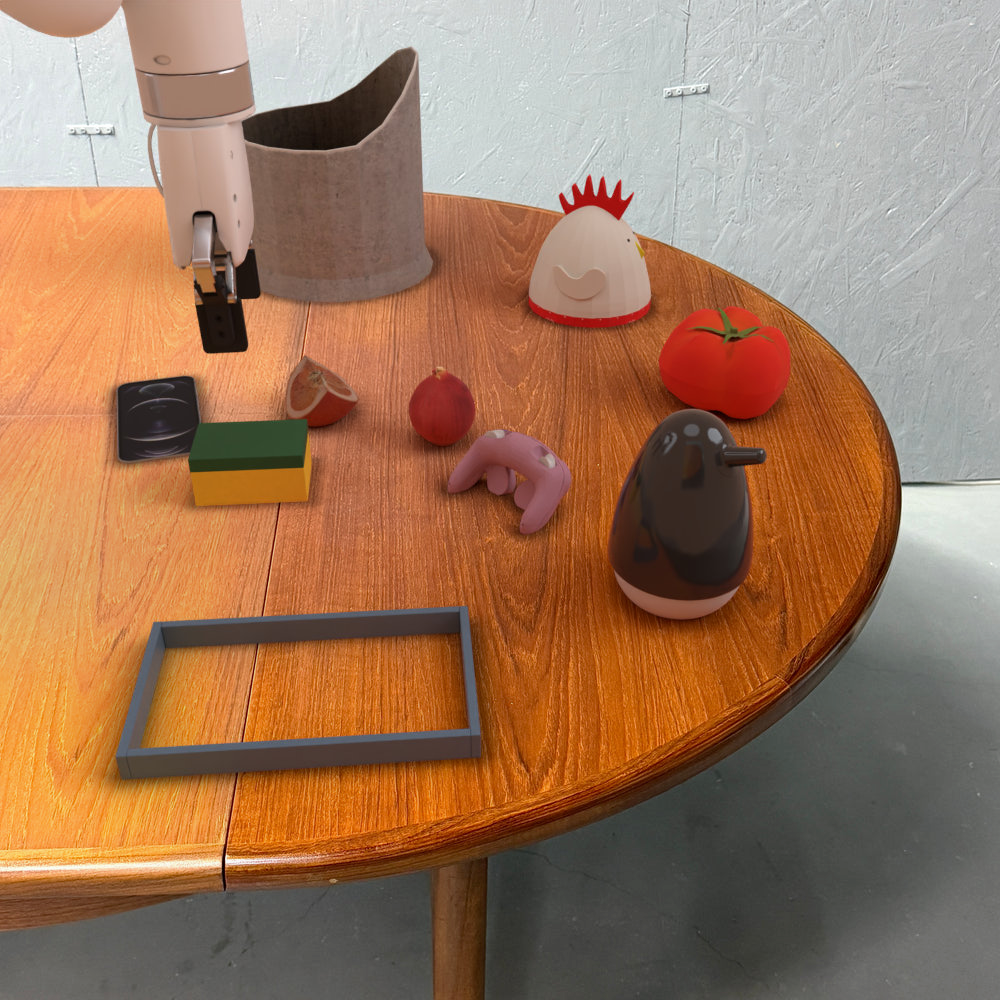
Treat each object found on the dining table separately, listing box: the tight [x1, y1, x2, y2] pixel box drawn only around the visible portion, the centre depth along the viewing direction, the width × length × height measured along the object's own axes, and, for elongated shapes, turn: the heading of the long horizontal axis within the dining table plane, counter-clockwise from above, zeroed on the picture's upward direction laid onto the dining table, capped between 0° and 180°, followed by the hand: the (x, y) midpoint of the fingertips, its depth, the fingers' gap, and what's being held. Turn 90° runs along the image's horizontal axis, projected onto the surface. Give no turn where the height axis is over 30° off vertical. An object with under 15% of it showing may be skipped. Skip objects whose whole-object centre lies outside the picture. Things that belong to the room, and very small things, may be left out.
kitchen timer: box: [528, 174, 652, 329], centre depth 119 cm, size 14×14×15 cm
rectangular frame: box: [115, 605, 482, 781], centre depth 69 cm, size 21×12×2 cm, turn 95°
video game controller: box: [447, 428, 572, 536], centre depth 88 cm, size 10×5×7 cm, turn 45°
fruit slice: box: [284, 354, 360, 428], centre depth 100 cm, size 8×7×5 cm
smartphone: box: [116, 375, 202, 465], centre depth 99 cm, size 8×1×15 cm
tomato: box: [658, 305, 792, 420], centre depth 101 cm, size 13×12×8 cm
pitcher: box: [147, 46, 434, 303], centre depth 124 cm, size 23×32×25 cm
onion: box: [408, 366, 477, 447], centre depth 95 cm, size 6×6×8 cm
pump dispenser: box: [607, 408, 768, 620], centre depth 75 cm, size 10×10×15 cm
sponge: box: [187, 419, 313, 507], centre depth 89 cm, size 9×6×5 cm, turn 95°
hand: (234, 323), depth 83 cm, fingers open, 9 cm apart
